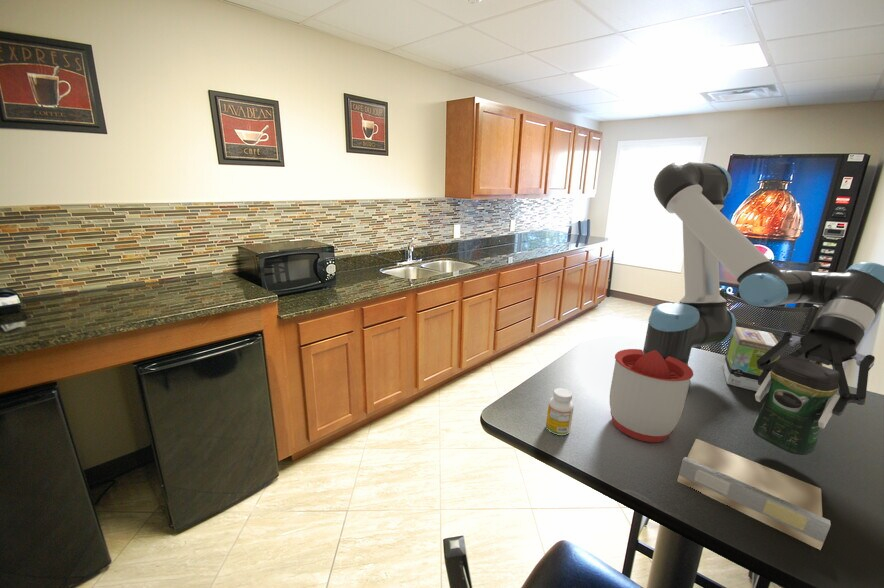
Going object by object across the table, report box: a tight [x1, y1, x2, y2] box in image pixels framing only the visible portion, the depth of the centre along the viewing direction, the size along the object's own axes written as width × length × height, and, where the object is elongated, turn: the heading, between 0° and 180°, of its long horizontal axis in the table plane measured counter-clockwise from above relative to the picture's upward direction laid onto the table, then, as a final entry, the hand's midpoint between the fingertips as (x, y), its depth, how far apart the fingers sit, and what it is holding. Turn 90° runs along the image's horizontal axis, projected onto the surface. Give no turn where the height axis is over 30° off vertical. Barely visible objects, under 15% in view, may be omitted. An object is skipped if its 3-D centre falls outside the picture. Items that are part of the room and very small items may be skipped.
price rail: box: [678, 456, 832, 544], centre depth 65 cm, size 20×2×4 cm, turn 46°
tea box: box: [722, 326, 781, 395], centre depth 113 cm, size 15×10×15 cm
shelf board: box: [676, 438, 824, 551], centre depth 71 cm, size 20×16×2 cm
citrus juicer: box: [609, 348, 694, 443], centre depth 87 cm, size 16×17×20 cm
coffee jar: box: [752, 354, 840, 456], centre depth 76 cm, size 10×8×19 cm
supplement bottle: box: [545, 387, 574, 436], centre depth 85 cm, size 5×5×10 cm
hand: (787, 411), depth 75 cm, fingers closed on coffee jar, 9 cm apart
